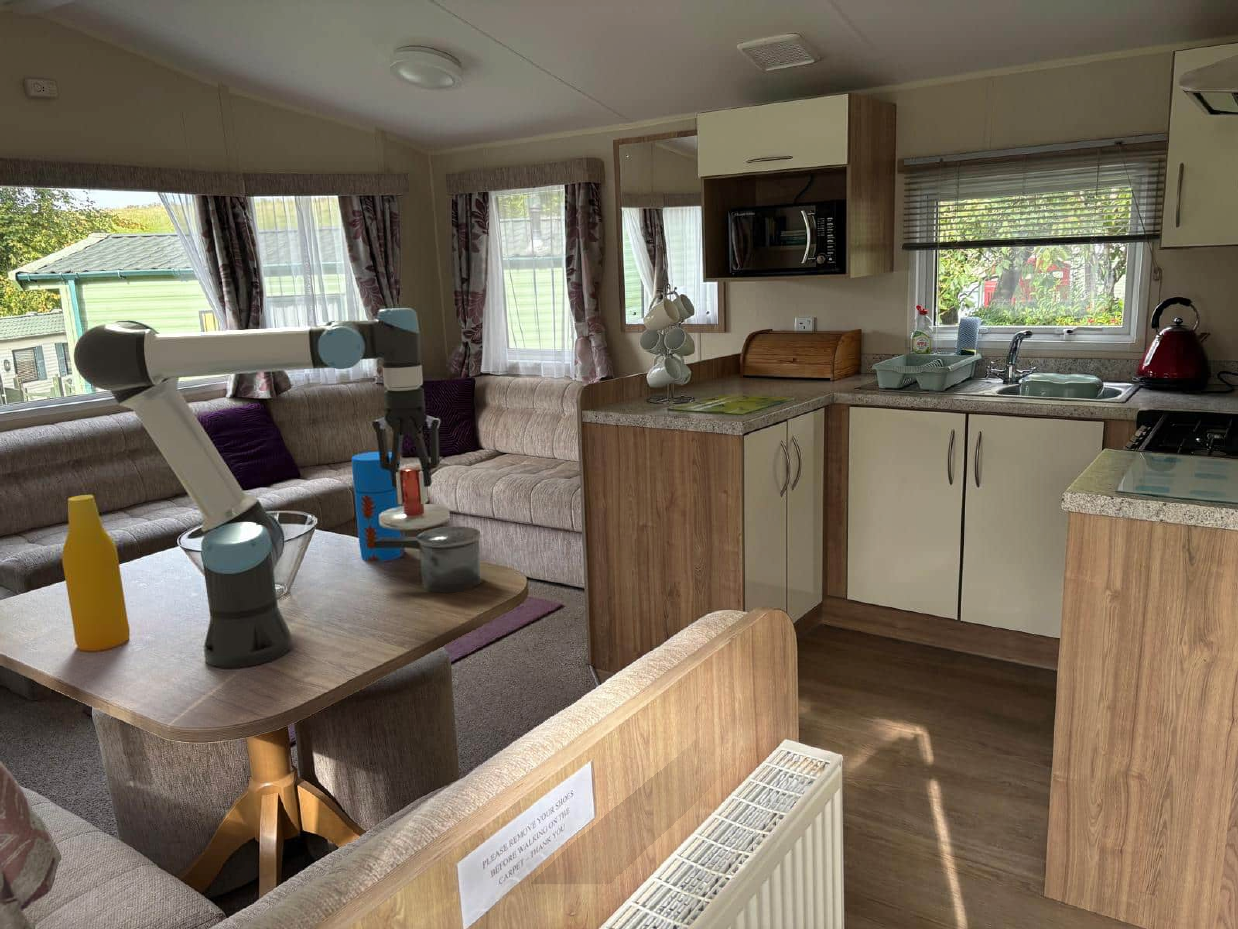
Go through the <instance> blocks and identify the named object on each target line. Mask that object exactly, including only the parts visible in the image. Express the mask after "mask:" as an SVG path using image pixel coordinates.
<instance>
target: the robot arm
mask: <svg viewBox="0 0 1238 929" xmlns="http://www.w3.org/2000/svg"><path fill="white" fill-rule="evenodd" d="M418 320H419V319H418V314H417V312H416V311H415V309H414V308H410V307H397V308H396V307H394V308H393V307H392V308H381V309H379V310H378V311H377V316H376V319H369V320H337V321H335V320H330V321H325V322H318V323H316V324H315V326H299V327H298V326H297V327H281V328H279V327H278V328H259V329H244V330H243V329H241V330H240V329H239V330H225V331H223V330H221V331H203V332H201V331H200V332H189V333H188V332H185V333H184V332H183V333H165V334H160V333H159V331H157V330H156V329H155V328H153V327H152V326H150V325H148V324H146V323H143V322H141V321H140V322H139V321H137V320H125V319H122V320H117V321H115V322H114V321H113V322H112V323H106V324H105V323H104V324H100V325H97V326H94V327H92V328H89V330H87V331H86V332H84V333H83V334H82V335H81V336H80V337H79V338H78V340H77V341H76V343H75V347H74V351H73V362H74V365H75V367H76V371H77V372H78V373H79V374H78V375H80V377H82V378H83V379H84V380H85V381H86V382H87V383H88V384H90V385H91V386H93V387H95V388H98V389H100V390H103V391H108V392H110V393H111V394H112V396H113V398H114V399H115V401H116V402H117V404H118V405H119V406H121V407H125V408H128V409H131V410H133V412H134V413H135V415H136V416H137V418H138V419H139V421H140V422H141V424H142V425H143V427H144V428H145V430H146V432H147V433H148V434H149V436H150V437H151V439H152V440H153V443H154V444H155V445H156V447H157V448H158V450H159V451H160V453H161V454H162V456H163V458H164V460H166V462H167V464H168V465H169V466H170V468H171V470H172V471H173V473H174V474H175V475H176V477H177V479H178V480H179V482H180V483H181V485H182V486H183V488H184V489H185V491H186V493H187V495H188V496H189V498H190V499H191V500H192V502H193V503H194V505H195V506H196V508H197V509H198V511H199V512H200V514H201V515H202V517H203V523H202V526H201V531H202V532H203V533H204V536H203V538H202V540H201V544H200V545H201V546H200V548H201V550H200V558H201V562H202V567H203V573H204V580H205V588H206V595H207V597H206V598H207V602H208V604H207V605H208V609H209V610H208V611H209V617H210V618H209V623H208V626H207V631H206V632H207V633H206V636H205V640H204V646H203V652H204V660H205V662H206V664H208V665H210V666H213V667H216V668H224V669H237V668H239V669H240V668H248V667H253V666H257V665H261V664H264V663H268V662H271V661H273V660H276V659H278V658H280V657H282V656H283V655H285V654H287V652H289V651H290V650H291V649H292V646H293V642H292V633H291V630H290V629H289V627H288V624H287V623H286V621H285V619H284V616H283V615H282V612H281V611H280V608H279V606H278V599H277V589H276V583H275V581H276V579H275V573H274V572H275V569H276V567H277V565H278V562H279V560H280V559H281V558H282V555H283V553H284V549H285V533H284V530H283V527H282V524H281V523H280V522H279V520H278V519H277V518H276V517H275V516H274V515H272V514H271V513H269V512H267V511H266V510H265V508H264V506H263V505H262V503H261V501H260V500H259V499H258V498H257V497H254V496H250V495H248V494H245V491H244V490H243V488H242V487H241V485H240V484H239V482H238V481H237V479H236V477H235V476H234V475H233V473H232V471H231V470H230V468H229V466H228V465H227V464H226V462H225V460H224V458H222V456H221V454H220V453H219V451H218V450H217V448H216V447H215V445H214V444H213V441H212V440H211V438H210V437H209V436H208V433H207V432H206V431H205V429H204V427H203V426H202V424H201V423H200V421H199V420H198V417H197V416H196V415H195V414H194V412H193V410H192V408H191V407H190V406H189V404H188V402H187V400H186V399H185V398H184V395H182V393H181V391H180V390H179V388H178V383H179V379H180V378H191V377H192V378H194V377H205V376H206V377H208V376H222V375H234V374H235V375H236V374H239V375H240V374H249V373H251V374H253V373H267V372H268V373H269V372H278V371H279V372H282V371H283V372H284V371H285V372H286V371H295V370H296V371H297V370H299V371H300V370H312V369H336V370H345V369H346V370H347V369H350V368H353V367H355V366H356V365H358V363H359V362H360V361H361V360H376V359H381V362H382V364H381V365H382V375H383V376H382V377H383V387H385V388H387V389H386V390H384V401H385V409H386V410H385V413H384V417H382V418H379V419H375V420H374V421H373V422H372V424H371V425H372V427H373V429H374V431H375V434H376V441H377V442H376V443H377V447H378V452H379V457H380V465H381V468H382V469H386V470H389V471H390V472H391V480H392V486H393V487H397V495H398V504H401V505H403V494H402V483H401V471H400V470H401V469H400V468H401V466H400V462H401V455H402V447H403V439H404V435H409V436H411V438H412V440H413V442H414V446H415V449H416V453H417V456H418V459H419V464H420V467H421V471H420V472H419V483H420V495H421V504H427V503H428V502H429V493H428V492H429V491H428V487H431V485H432V483H433V481H432V470H433V469H436V468H437V467H438V466H439V465H440V463H441V462H440V440H439V439H440V438H439V428H440V427H441V423H442V419H441V418H440V417H436V418H435V417H433V416H430V415H429V414H428V412H427V410H426V402H425V391H424V388H423V387H421V386H422V385H423V383H424V378H423V367H422V353H421V352H422V351H421V341H420V329H419V321H418ZM426 422H427V427H428V429H429V454H430V455H429V454H428V450H427V447H426V444H425V439H424V434H423V430H422V428H423V426H424V425H425V424H426ZM387 425H388V426H389V427H390V428H391V430H393V434H392V449H391V452H392V455H391V463H390V459H389V452H390V451H389V445H388V438H387V436H388V435H387V431H386V428H387ZM429 457H430V458H429Z"/></svg>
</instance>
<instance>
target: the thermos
mask: <svg viewBox="0 0 1238 929" xmlns="http://www.w3.org/2000/svg"><path fill="white" fill-rule="evenodd" d="M391 455H392V451H389V459H390V463H391ZM351 470H352V471H351V472H352V481H353V492H354V502H355V512H356V513H355V514H356V515H355V516H356V522H357V534H358V544H359V550H360V556H361V560H364V561H368V562H385V561H392V560H395V559H399V558H400V557H403V556H404V555H405V553H406V552H405V549H406V548H374V541H375V540H376V539H377V538H378V537H405V530H395V529H388V528H384V527H382V526H380V524H379V515H380V513H382V512H384V511H386V510H389V509H392V508H396V507H400V506H403V504H398V495H397V487H393V486H392V480H391V472H390V471H389V470H386V469H382V468H381V465H380V457H379V451H370V452H363V453H359V454H354V455H353V456H352V457H351Z"/></svg>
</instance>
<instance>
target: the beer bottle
mask: <svg viewBox="0 0 1238 929" xmlns="http://www.w3.org/2000/svg"><path fill="white" fill-rule="evenodd" d="M67 507H68V508H67V511H68V512H67V513H68V533H67V535H66V539H65V542H64V545H63V549H62V557H61V561H62V567H63V572H64V578H65V579H64V580H65V585H66V590H67V591H66V592H67V596H68V603H69V608H70V615H71V619H72V620H71V621H72V625H73V626H72V627H73V634H74V640H75V644H76V647H77V649H79V650H80V651H83V652H90V651H91V652H101V650H102V651H106V650H109V649H111V650H112V649H114V648H116V647H119V646H121V645H124V643H126V642H127V641H128V640H129V639H130V632H131V631H130V630H131V629H130V624H129V619H128V614H127V607H126V601H125V596H124V595H125V594H124V588H123V580H122V575H121V569H120V568H121V567H120V562H119V554H118V549H117V546H116V544H115V542H114V541H113V539H112V537H111V536H110V534H109V533H108V532H107V531H106V529H105V528H104V527H103V523H102V521H101V517H100V515H99V514H100V513H99V511H98V507H97V504H96V501H95V496H94V495H92V494H84V495H83V494H82V495H75V496H72V497H69V498H67Z"/></svg>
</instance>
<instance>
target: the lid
mask: <svg viewBox="0 0 1238 929" xmlns="http://www.w3.org/2000/svg"><path fill="white" fill-rule="evenodd" d="M399 470H400V471H401V483H402V494H403V504H402V506H400V507H396V508H392V509H389V510H386V511H384V512H382V513H380V515H379V524H380V526H382V527H384V528H388V529H395V530H404V531H407V530H408V531H411V530H422V529H427V528H432V527H437V526H439V525H442V524H445V523H447V522H448V521H449V520H450V509H449V508H448V507H447V506H445V505H441V504H434V503H433V504H431V503H425V504H421V495H420V483H419V472H420V471H421V470H422V467H421V468H420V467H405V468H402V469H399Z"/></svg>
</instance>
